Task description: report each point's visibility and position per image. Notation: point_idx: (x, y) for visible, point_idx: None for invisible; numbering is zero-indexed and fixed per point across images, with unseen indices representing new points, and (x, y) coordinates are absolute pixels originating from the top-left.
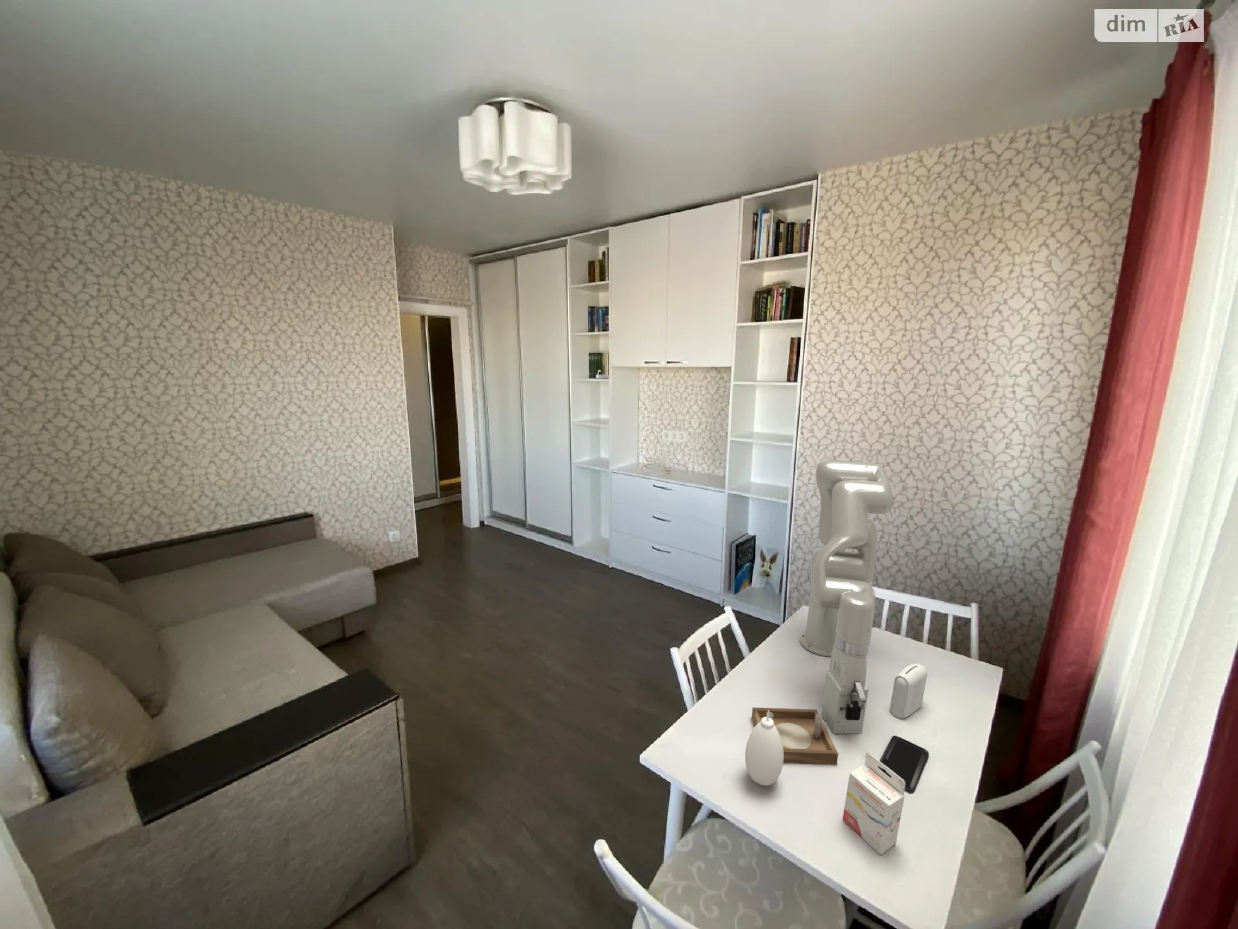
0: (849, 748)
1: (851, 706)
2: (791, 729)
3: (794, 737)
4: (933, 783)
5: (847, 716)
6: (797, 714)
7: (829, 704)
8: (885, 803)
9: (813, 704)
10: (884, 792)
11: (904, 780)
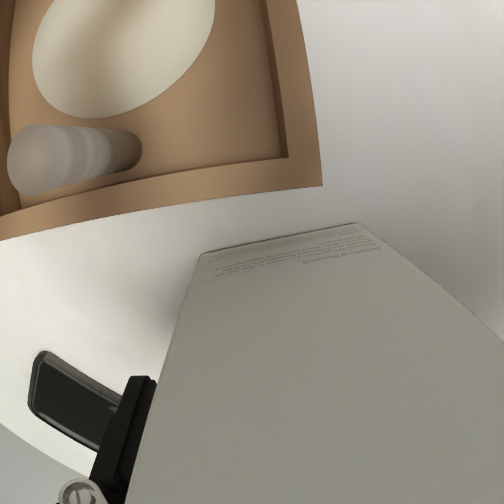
0: (126, 305)
1: (62, 492)
2: (160, 17)
3: (101, 33)
4: (93, 456)
5: (127, 398)
6: (271, 47)
7: (300, 298)
8: None
9: (420, 199)
10: None
11: (52, 412)
